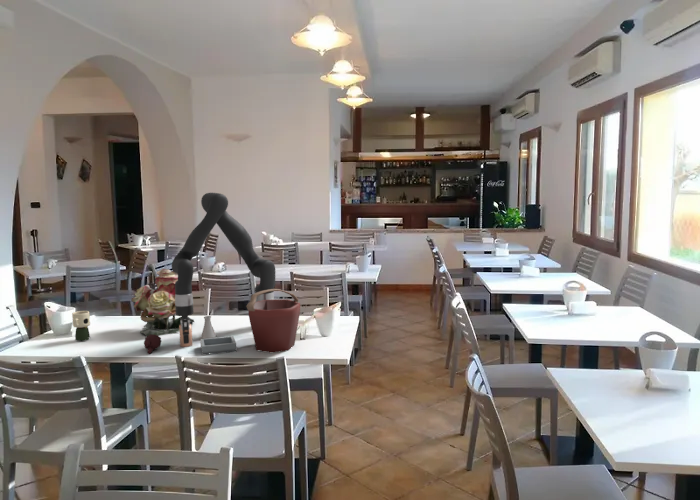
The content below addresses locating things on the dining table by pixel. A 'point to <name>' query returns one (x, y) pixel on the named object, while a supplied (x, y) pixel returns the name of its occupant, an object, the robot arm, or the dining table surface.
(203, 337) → the flask
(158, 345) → the icecream
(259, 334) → the bucket
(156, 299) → the rose bouquet
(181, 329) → the terracotta cup
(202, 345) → the slate tray
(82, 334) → the character mug
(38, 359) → the dining table surface
